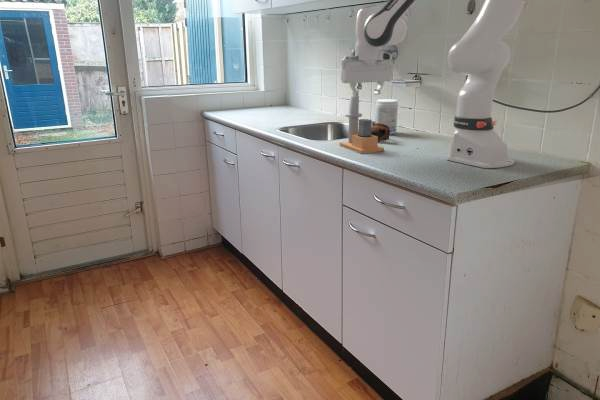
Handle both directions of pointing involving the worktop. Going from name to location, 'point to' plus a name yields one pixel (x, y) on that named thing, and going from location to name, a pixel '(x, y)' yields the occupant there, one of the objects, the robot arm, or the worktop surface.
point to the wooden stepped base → (354, 140)
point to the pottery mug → (380, 131)
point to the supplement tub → (387, 113)
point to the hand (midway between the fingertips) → (366, 95)
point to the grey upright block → (365, 128)
